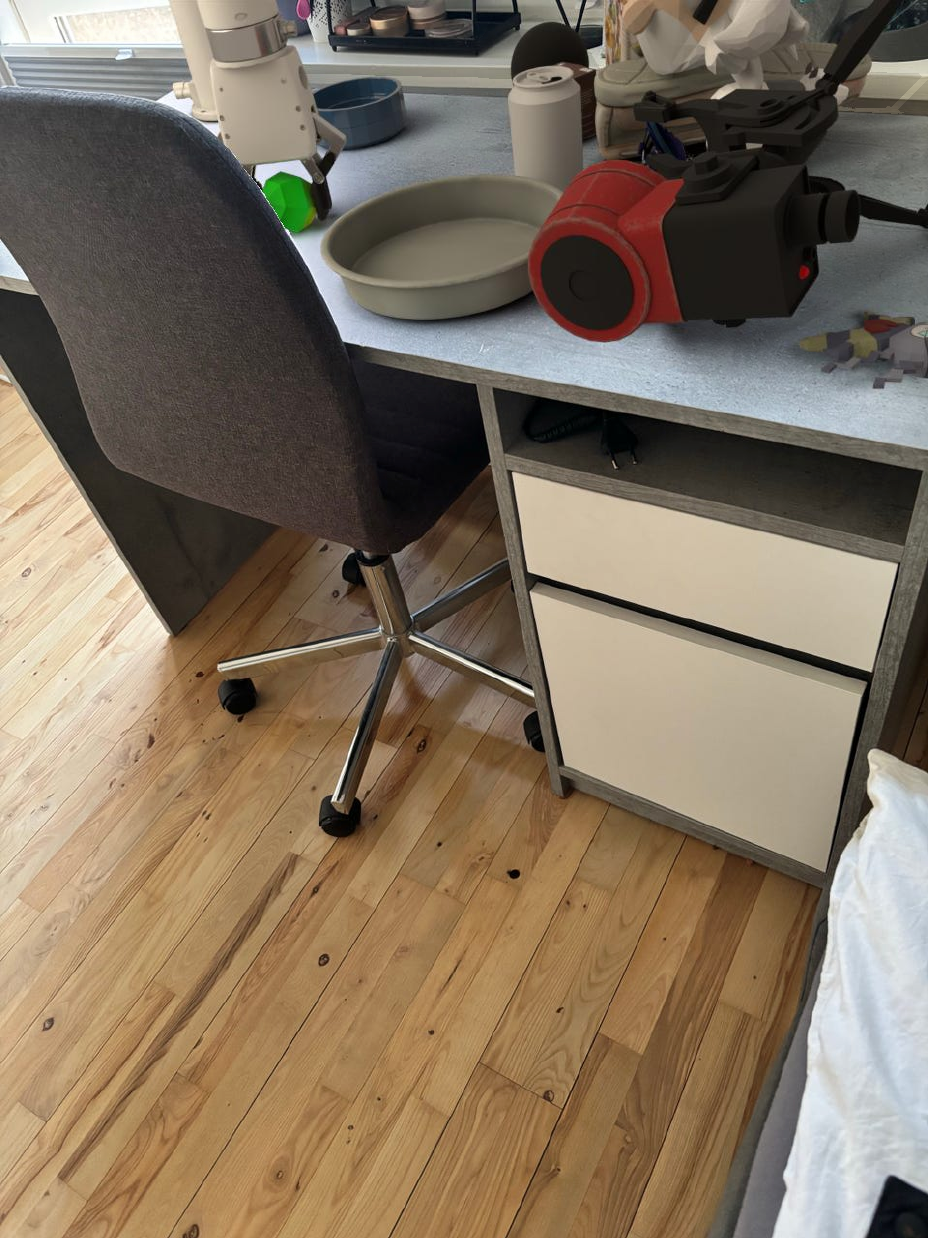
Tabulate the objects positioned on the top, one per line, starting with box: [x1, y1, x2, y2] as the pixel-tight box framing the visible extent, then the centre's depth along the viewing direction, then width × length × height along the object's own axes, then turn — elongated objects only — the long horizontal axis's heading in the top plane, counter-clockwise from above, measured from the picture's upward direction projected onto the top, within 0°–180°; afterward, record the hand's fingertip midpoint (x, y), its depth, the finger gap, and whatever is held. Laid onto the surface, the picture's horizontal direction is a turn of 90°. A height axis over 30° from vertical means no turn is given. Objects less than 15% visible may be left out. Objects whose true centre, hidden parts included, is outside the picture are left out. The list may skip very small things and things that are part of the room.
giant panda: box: [705, 61, 850, 152], centre depth 96 cm, size 15×6×10 cm, turn 93°
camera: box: [528, 0, 928, 344], centre depth 77 cm, size 25×30×29 cm
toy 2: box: [797, 310, 928, 390], centre depth 69 cm, size 15×4×15 cm
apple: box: [262, 170, 317, 234], centre depth 104 cm, size 7×6×9 cm
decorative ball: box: [510, 21, 590, 87], centre depth 118 cm, size 10×10×10 cm
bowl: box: [312, 75, 409, 150], centre depth 124 cm, size 13×13×5 cm
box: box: [553, 62, 598, 141], centre depth 111 cm, size 6×6×7 cm
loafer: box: [594, 41, 873, 161], centre depth 103 cm, size 11×30×9 cm, turn 88°
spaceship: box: [638, 122, 688, 172], centre depth 100 cm, size 7×6×5 cm
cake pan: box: [319, 173, 563, 321], centre depth 90 cm, size 25×25×4 cm
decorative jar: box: [604, 0, 645, 67], centre depth 107 cm, size 12×12×18 cm
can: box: [507, 66, 584, 193], centre depth 98 cm, size 8×8×12 cm
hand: (294, 217), depth 105 cm, fingers closed on apple, 6 cm apart
